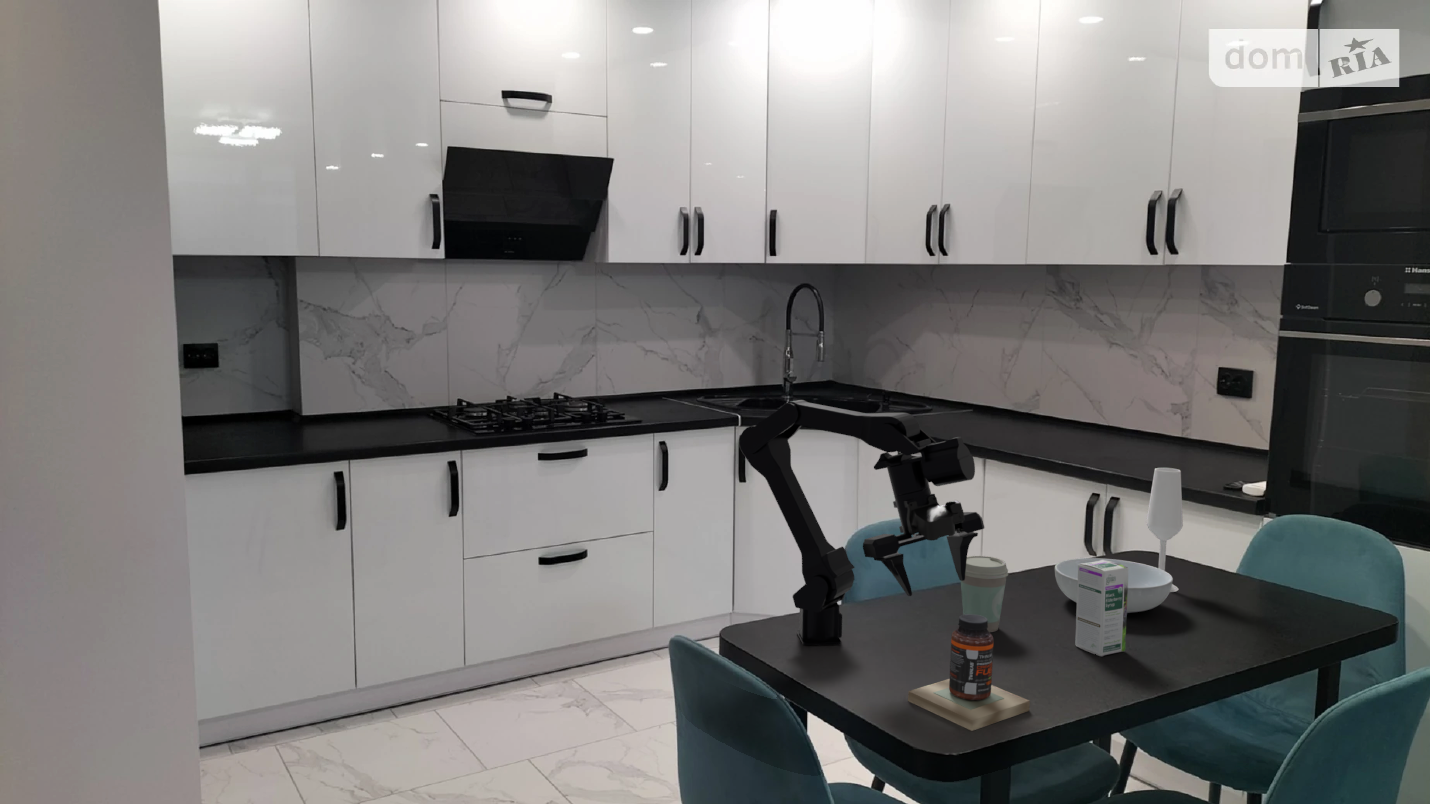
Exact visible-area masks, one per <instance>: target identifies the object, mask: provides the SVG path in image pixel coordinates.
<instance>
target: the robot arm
mask: <svg viewBox="0 0 1430 804" xmlns="http://www.w3.org/2000/svg"><path fill="white" fill-rule="evenodd" d="M801 427H805V428H808V429H812V430H819V431H823V432H829V433H834V434H839V435H843V436H846V437H847V436H848V437H854V438H856V439H859V440H860V441H862V442H864V443H865V444H867V445H868V446H870V447H872V448H874V449H877V450H880V451H883V452H882V453H881V454H880V455H879V458H878V460H877V462H876V463H875V464H874V465H873V469H874V470H876V471H877V470H881V469H887V472H888V477H889V482H890V485H891V488H892V489H891V490H892V491H893V492H892V493H893V495H894V496H893V498H894V501H892V504H893V508H895V509H897V512H898V516H899V521H900V525H899V526H898V528H899V531H900V534H898V535H895V533H894V534H893V533H891V534H890V533H883V534H879V535H875V536H871V537H868V538H865V539H864V540H863V543H862V549H863V554H864V557H865V558H872V559H873V560H874V561H879V562H881V563H882V564H883V565H884V566H885V567H886V569H888V571H889V572H890V573H891V574H892V576H893V577H894V579H895V580H896V581H897V583H898V584H899V586H900V587H901V588H902V590H903V591H904V593H905V594H906V596H908V597H912V596H913V592H912V591H913V590H912V588H911V587H912V585H911V583H910V581H909V578H908V577H909V576H908V574H907V571H906V567H905V565H904V553H899V549H900V548H901V547H903V546H908V545H911V544H915V543H918V542H921V541H922V542H923V541H926V540H927V541H937V540H938V539H940V538H944V537H946V540H947V543H948V547H949V550H950V554H951V557H952V562H953V565H954V568H955V572H956V575H957V576H958V580H959V581H960V582H961V581H964V580H965V572H966V561H967V557H968V552H969V548H970V544H971V543H972V541H973V539H974V538H975V537H978V535H979V531H981V530H984V529H985V524H984V520H983V517H982V516H981V515H980V513H978V512H977V511H964V509H963V506H962V503H961V501H959V500H957V499H954V500H952V501H947V502H946V503H945V504H944V505H943V504H942V505H940V504H939V501H938V500H937V499H938V498H937V497H936V494H935V493H932V490H931V488H930V483H932V484H933V485H934V486H935V487H941V486H946V485H947V486H948V485H951V484H956V483H961V482H967V481H971V480H973V479H974V477H975V473H976V466H975V465H976V464H975V460H974V455H972V454H971V452H970V450H969V448H968V447H967V446H966V444H964V441H963V438H962V437H961V436H957V437H953V438H950V439H947V440H944V441H940V442H937V441H936V440H935V439H934V438H932V436H930V435H929V434H928V433H927V432H925V431H924V430H923V429H922V428H921V427H920V424H919V422H918V420H917V418H916V417H915V416H914V415H912V414H910V413H908V412H875V413H874V412H873V413H872V412H871V413H870V412H869V413H865V412H860V411H855V410H849V409H845V408H838V407H835V406H834V407H833V406H828V405H825V404H823V405H822V404H819V403H812V402H808V401H807V400H804V399H797V400H793V401H792V400H791V401H788V402H785V403H784V404H783V405H782V406H781V407H780V408H779V409H778V410H776V411H775V412H773V413H772V414H770V415H768V416H767V417H766V418H764V419H763V420H761V421H760V422H758V423H757V424H755V425H751V426H747V427H746V428H745V429H743V431H742V433H741V434H740V438H739V440H738V444H739V445H738V446H739V449H740V451H741V452H742V454H743V456H744V457H745V459H746V460H747V462H748V463H749V465H750V466H751V467H752V468H753V469H754V470H755V471H756V472H758V473H759V474H760V475H761V476H762V477H764V478H765V480H766V481H767V484H768V487H769V489H770V491H771V493H772V495H773V497H774V499H775V502H776V503H777V505H778V507H779V510H780V513H781V514H782V516H783V517H784V520H785V522H786V524H787V526H788V528H789V529H788V530H790V533H791V535H792V537H793V539H794V541H795V543H796V545H797V548H798V549H799V551H800V554H801V573H802V576H803V580H804V585H803V586H802V587H800V588H799V589H798V590H797V591H795V593H793V594H792V600H793V603H794V606H795V608H797V609H799V617H798V618H799V620H798V621H799V623H798V624H799V626H798V627H799V628H798V629H797V630H796V634H797V636H798V637H799V640H800V641H801V644H802V645H803V646H823V645H824V646H825V645H826V646H828V645H841V644H842V640H841V638H842V636H843V635H842V634H843V613H842V612H841V611H840V605H839V603H838V602H841V601H843V600H844V598H845V595H846V593H847V592H849V591H850V590H851V589H852V587H853V584H854V581H855V574H854V573H855V572H854V570H853V569H855V565H853V563H852V562H851V561H850V558H849V557H848V553H847V551H846V549H845V547H844V546H841V547H838V548H835V547H834V546H833V545H832V544H831V543H829V541H828V540H827V539H826V536H825V535H824V531H823V530H822V528H821V526H820V523H819V522H818V520H817V518H816V516H815V514H814V513H815V512H814V511H813V509H812V507H811V505H810V503H809V501H808V499H807V497H806V494H805V493H804V491H803V488H802V487H801V485H800V483H799V480H798V478H797V476H796V474H795V471H794V469H793V468H792V461H791V460H792V459H791V458H792V457H791V455H792V454H791V453H792V452H791V446H790V443H789V440H790V439H791V438H792V437H794V435H796V434H797V433H798V431H799V430H800V429H801ZM896 452H898V454H895V455H893V454H891V453H896ZM916 454H921V455H920V456H915V457H914V456H913V455H916Z"/></svg>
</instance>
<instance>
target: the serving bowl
mask: <svg viewBox="0 0 1430 804" xmlns="http://www.w3.org/2000/svg"><path fill="white" fill-rule="evenodd" d="M1100 560H1106V561H1111V562H1115V563H1118V564H1121V565H1124V566H1126V567H1128V568H1129V571H1128V595H1127V614H1130V613H1138V612H1139V613H1140V612H1145V611H1148V610H1152V609H1154V608H1157V607H1158V606H1160V605H1161V604H1162V603H1163V602H1164V601H1165V600H1166V599H1167V597H1168V596H1169V594H1170V593H1171V592H1170V590H1171V587H1172V584H1173V580H1174V578H1173V576H1172V575H1171V574H1170V573H1169V572H1167V571H1166V570H1165V571H1163V570H1161V569H1159V567H1156V566H1152V565H1148V564H1145V563H1139V562H1134V561H1129V560H1122V559H1115V558H1113V559H1112V558H1095V557H1094V558H1093V557H1091V558H1090V557H1089V558H1087V557H1086V558H1085V557H1084V558H1083V557H1082V558H1081V557H1080V558H1072V559H1066V560H1062V561H1060V562H1058V563H1056V564H1055V566H1054V576H1055V580H1056V584H1057V586H1058V587H1059V589H1060V591H1061V592H1062V593H1063V594H1064V595H1065V596H1066V597H1067V598H1068V599H1070V600H1071V601H1072V602H1074V603H1076V604H1077V581H1078V564H1081V563H1089V562H1095V561H1100Z"/></svg>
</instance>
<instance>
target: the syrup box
mask: <svg viewBox="0 0 1430 804" xmlns="http://www.w3.org/2000/svg"><path fill="white" fill-rule="evenodd" d="M1128 571H1129V568H1128V567H1126V566H1124V565H1121V564H1118V563H1115V562H1111V561H1106V560H1100V561H1095V562H1089V563H1081V564H1078V581H1077V603H1076V613H1075V615H1076V616H1075V639H1074V640H1075V643H1074V644H1075V646H1076V647H1077V648H1079V649H1081V650H1084V651H1086V652H1089V653H1091V654H1093V655H1095V654H1096V656H1099V657H1104V656H1107V655H1112V654H1117V653H1123V652H1125V651H1126V645H1127V644H1126V638H1127V637H1126V636H1127V635H1126V634H1127V618H1128V617H1127V615H1128V613H1127V595H1128Z"/></svg>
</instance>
